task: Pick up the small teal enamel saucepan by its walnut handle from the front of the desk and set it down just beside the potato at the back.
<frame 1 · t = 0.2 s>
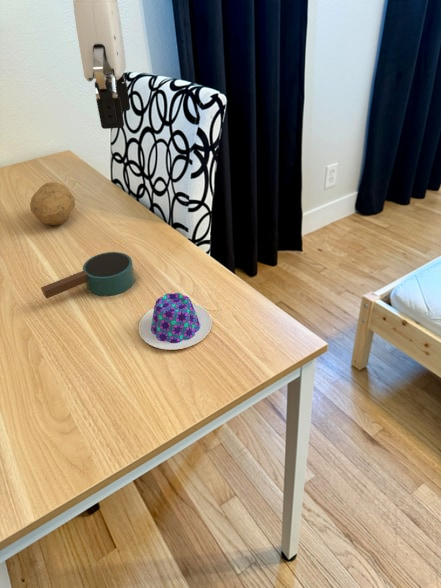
hand: (117, 118, 66), 29 cm above the table, tool pointing down, fingers open, 9 cm apart
pan: (111, 282, 82), on the table
pudding: (175, 328, 71), on the table
potato: (57, 221, 103), on the table
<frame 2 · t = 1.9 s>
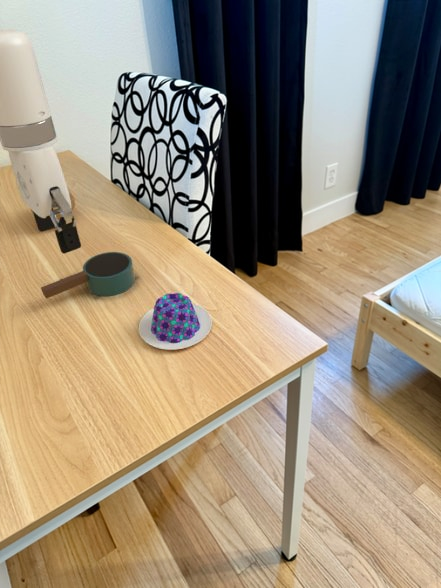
hand: (59, 238, 71), 12 cm above the table, tool pointing down, fingers open, 9 cm apart
nothing on the table moved.
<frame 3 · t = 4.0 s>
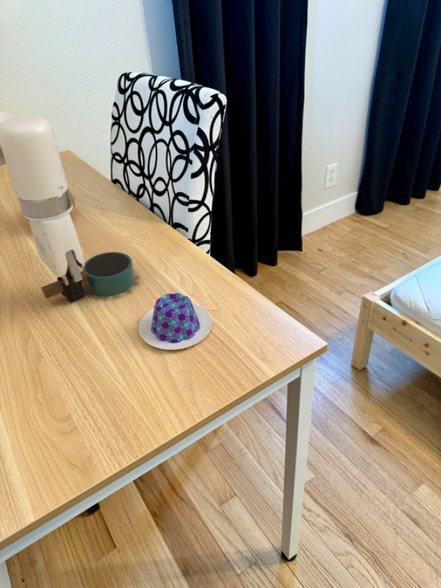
hand: (73, 295, 78), 1 cm above the table, tool pointing down, fingers closed on pan
pan: (111, 282, 82), on the table, touching gripper
everything else where it was.
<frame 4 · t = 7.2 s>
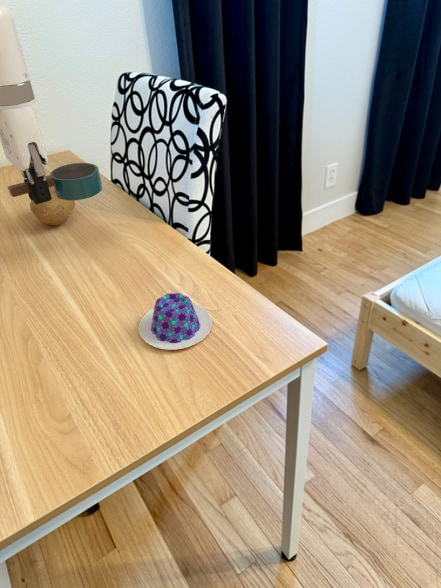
hand: (40, 199, 81), 14 cm above the table, tool pointing down, fingers closed on pan
pan: (79, 190, 85), point 13 cm above the table, touching gripper
everything else where it was.
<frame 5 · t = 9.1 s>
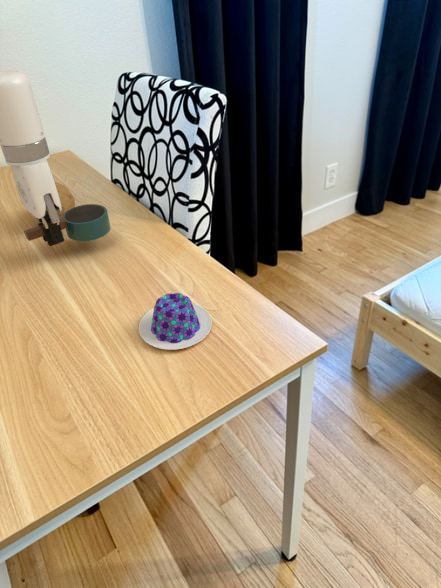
hand: (54, 240, 87), 4 cm above the table, tool pointing down, fingers closed on pan
pan: (89, 230, 91), point 4 cm above the table, touching gripper
everything else where it was.
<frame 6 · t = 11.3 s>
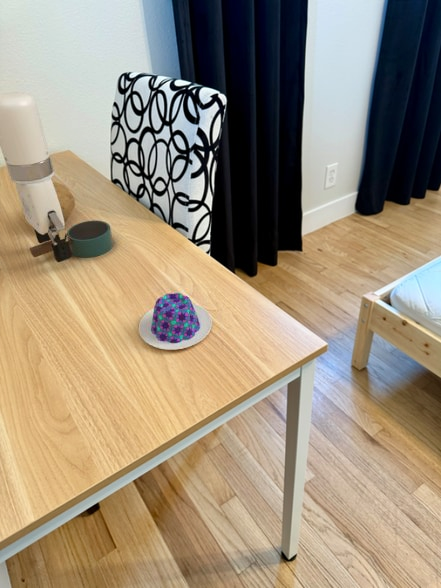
hand: (55, 249, 88), 2 cm above the table, tool pointing down, fingers open, 9 cm apart
pan: (92, 246, 93), on the table
everything else where it was.
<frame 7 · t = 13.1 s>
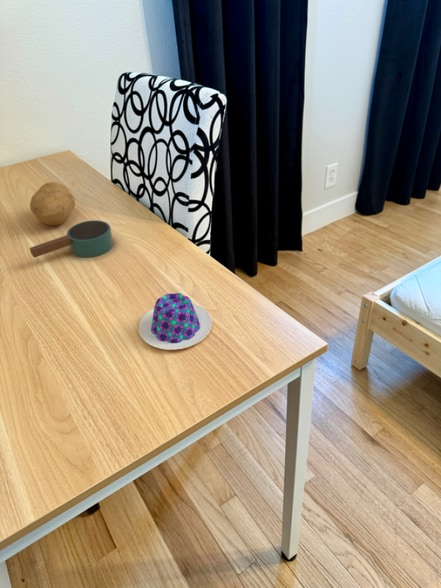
nothing on the table moved.
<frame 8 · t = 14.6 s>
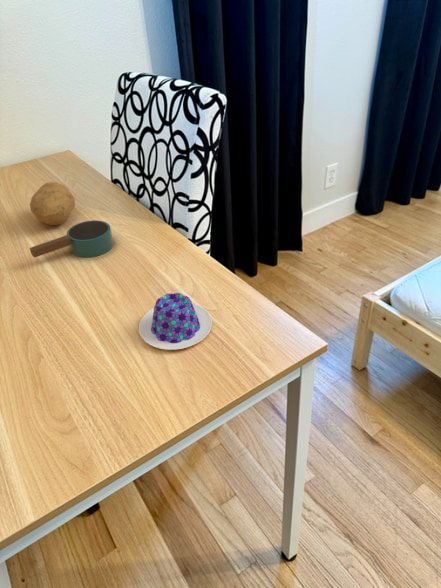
nothing on the table moved.
at the end: pan inside the target area (0.2 cm from its centre), on the table; pan 17.1 cm from the potato (horizontally); pan tilted 0° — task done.
